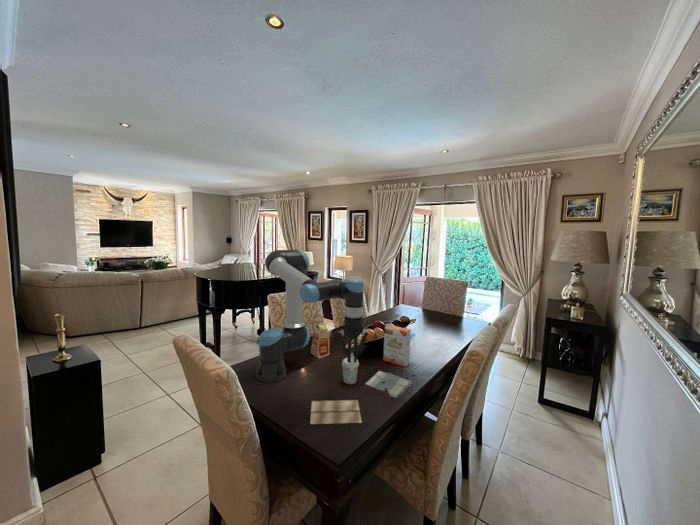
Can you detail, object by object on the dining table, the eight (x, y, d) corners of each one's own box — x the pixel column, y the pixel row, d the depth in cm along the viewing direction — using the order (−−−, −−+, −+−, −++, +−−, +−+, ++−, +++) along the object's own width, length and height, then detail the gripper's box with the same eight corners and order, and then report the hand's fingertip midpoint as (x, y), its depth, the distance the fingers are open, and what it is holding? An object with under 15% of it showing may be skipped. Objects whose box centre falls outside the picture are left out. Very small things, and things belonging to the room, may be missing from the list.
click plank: (310, 414, 118) (310, 411, 118) (311, 404, 125) (311, 400, 125) (359, 413, 120) (359, 410, 119) (357, 403, 127) (357, 399, 127)
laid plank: (309, 427, 110) (310, 423, 110) (310, 415, 118) (310, 411, 117) (361, 426, 112) (362, 422, 112) (359, 414, 119) (359, 410, 119)
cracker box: (382, 361, 170) (384, 326, 168) (387, 357, 175) (389, 324, 173) (404, 367, 162) (406, 331, 160) (409, 364, 167) (410, 329, 165)
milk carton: (318, 358, 171) (319, 325, 169) (310, 353, 178) (310, 321, 176) (330, 354, 177) (331, 322, 175) (322, 349, 184) (322, 319, 182)
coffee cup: (345, 389, 138) (345, 365, 136) (338, 381, 145) (339, 358, 144) (361, 386, 141) (362, 362, 140) (354, 378, 149) (354, 355, 148)
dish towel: (396, 401, 130) (396, 394, 130) (362, 388, 141) (363, 381, 140) (412, 384, 145) (413, 378, 145) (381, 373, 156) (381, 368, 155)
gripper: (338, 318, 117) (336, 373, 119) (370, 318, 118) (368, 373, 120) (337, 313, 124) (336, 365, 127) (367, 313, 125) (365, 365, 128)
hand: (351, 369), depth 123 cm, fingers closed
